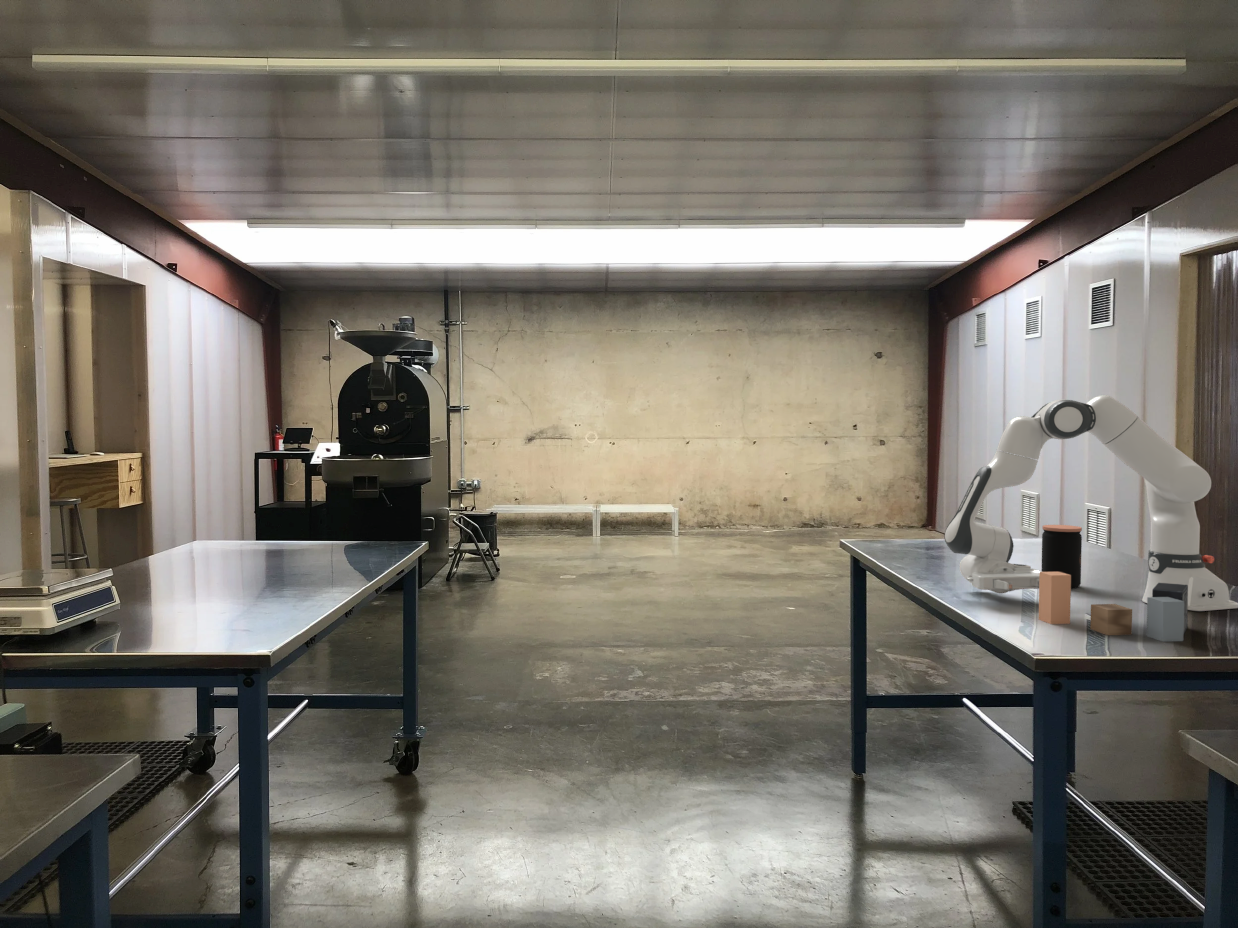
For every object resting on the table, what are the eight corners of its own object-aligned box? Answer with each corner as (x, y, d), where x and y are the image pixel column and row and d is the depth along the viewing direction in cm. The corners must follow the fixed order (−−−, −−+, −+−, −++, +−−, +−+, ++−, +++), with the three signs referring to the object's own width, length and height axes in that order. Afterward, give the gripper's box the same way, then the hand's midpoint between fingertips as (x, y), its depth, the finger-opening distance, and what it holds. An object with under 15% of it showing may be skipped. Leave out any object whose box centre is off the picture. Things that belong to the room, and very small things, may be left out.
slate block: (1166, 635, 192) (1167, 596, 191) (1183, 640, 187) (1184, 601, 186) (1146, 635, 191) (1147, 597, 191) (1162, 641, 186) (1163, 601, 186)
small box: (1156, 623, 203) (1157, 581, 203) (1188, 627, 199) (1189, 584, 198) (1150, 632, 195) (1151, 587, 194) (1183, 636, 191) (1184, 591, 190)
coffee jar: (1088, 589, 247) (1089, 528, 246) (1051, 589, 247) (1053, 528, 246) (1069, 582, 257) (1070, 524, 257) (1034, 582, 258) (1035, 524, 257)
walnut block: (1114, 628, 199) (1114, 603, 198) (1131, 634, 193) (1132, 609, 192) (1090, 629, 198) (1090, 604, 198) (1107, 635, 192) (1107, 609, 192)
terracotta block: (1057, 618, 209) (1058, 571, 208) (1070, 623, 204) (1070, 575, 203) (1038, 619, 208) (1039, 571, 208) (1050, 624, 203) (1051, 575, 203)
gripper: (962, 566, 230) (989, 574, 217) (1033, 564, 232) (1063, 573, 218) (962, 588, 231) (988, 598, 217) (1032, 587, 232) (1063, 597, 218)
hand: (1027, 586), depth 217 cm, fingers open, 8 cm apart
